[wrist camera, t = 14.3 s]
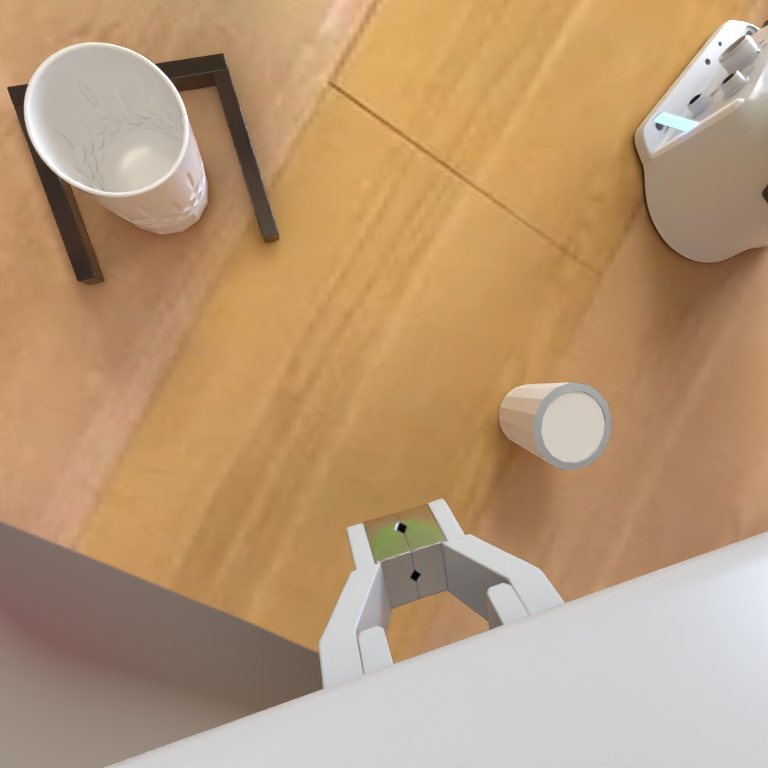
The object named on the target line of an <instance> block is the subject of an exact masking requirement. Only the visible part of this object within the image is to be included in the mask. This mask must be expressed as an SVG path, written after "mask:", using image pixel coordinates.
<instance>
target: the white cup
mask: <svg viewBox="0 0 768 768" xmlns="http://www.w3.org/2000/svg"><path fill="white" fill-rule="evenodd" d="M24 119H25V124H26V128H27V132H28V135H29V137H30V140H31V142H32V144H33V146H34V148H35V150H36V151H37V153H38V154H39V156H40V157H41V159H42V160H43V161H44V162H45V164H46V165H47V166H48V167H49V168H50V169H51V170H52V171H53V172H54V173H56V174H57V175H58V176H59V177H60V178H62V179H63V180H65V181H66V182H68V183H69V184H71V185H72V186H74V187H75V188H77V189H78V190H80V191H81V192H82V193H84V194H85V195H87V196H88V197H90V198H91V199H93V200H94V201H96V202H97V203H99V204H100V205H102V206H103V207H105V208H106V209H108V210H110V211H112V212H113V213H115V214H116V215H118V216H120V217H121V218H123V219H125V220H127V221H129V222H131V223H133V224H134V225H135V226H137V227H138V228H140V229H144V230H147V231H150V232H154V233H157V234H160V235H162V234H170V233H177V232H183V231H184V230H186V229H187V228H189V227H190V226H192V225H193V224H195V223H196V222H198V221H199V219H200V217H201V215H202V214H203V212H204V210H205V208H206V206H207V204H208V181H207V178H206V176H205V172H204V166H203V162H202V159H201V156H200V152H199V148H198V145H197V142H196V139H195V136H194V133H193V130H192V127H191V125H190V122H189V119H188V116H187V113H186V110H185V107H184V104H183V101H182V99H181V97H180V95H179V93H178V91H177V90H176V88H175V86H174V85H173V83H172V82H171V81H170V79H169V78H168V77H167V76H166V75H165V74H164V73H163V72H162V71H161V70H160V69H159V68H158V67H157V66H156V65H155V64H153V63H152V62H151V61H149V60H148V59H146V58H145V57H143V56H142V55H140V54H138V53H136V52H134V51H132V50H129V49H127V48H124V47H121V46H117V45H113V44H108V43H98V42H91V43H81V44H76V45H72V46H69V47H66V48H64V49H61V50H59V51H57V52H56V53H54V54H53V55H51V56H50V57H48V58H47V59H46V60H45V61H44V62H43V63H42V64H41V65H40V66H39V67H38V68H37V70H36V71H35V72H34V74H33V76H32V77H31V79H30V82H29V84H28V87H27V90H26V94H25V99H24Z"/></svg>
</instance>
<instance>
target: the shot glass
mask: <svg viewBox="0 0 768 768" xmlns="http://www.w3.org/2000/svg"><path fill="white" fill-rule="evenodd" d="M498 419H499V423H500V427H501V430H502V431H503V433H504V434H505V435H506V437H507V438H508V439H509V440H511V441H513V442H514V443H516V444H517V445H519V446H521V447H522V448H524V449H526V450H527V451H529V452H531V453H532V454H534V455H536V456H537V457H539V458H541V459H542V460H544V461H546V462H547V463H549V464H551V465H553V466H555V467H557V468H559V469H560V470H578V469H580V468H583V467H585V466H588V465H591V464H592V463H593V462H594V461H595V460H596V459H597V458H598V457H599V456H600V455H601V454H602V453H603V451H604V449H605V447H606V445H607V443H608V441H609V439H610V435H611V426H612V418H611V414H610V410H609V405H608V404H607V402H606V401H605V399H604V398H603V396H602V395H601V394H600V392H599V391H597V390H595V389H594V388H592V387H590V386H589V385H587V384H582V383H571V382H569V383H546V384H524V385H521V386H518V387H516V388H513V389H512V390H511V391H510V392H509V393H508V394H507V395H506V396H505V397H504V399H503V401H502V403H501V405H500V408H499V418H498Z"/></svg>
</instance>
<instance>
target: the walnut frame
mask: <svg viewBox="0 0 768 768" xmlns="http://www.w3.org/2000/svg"><path fill="white" fill-rule="evenodd" d="M155 65H156V66H157V67H158V68H159V69H160V70H161V71H162V72H163V73H164V74H165V75H166V76H167V77H168V78H169V79H170V81H171V82H172V83H173V85H174V86H175V88H176V90H177V91H184V90H190V89H196V88H202V87H207V86H213V85H216V88H217V91H218V94H219V97H220V100H221V104H222V107H223V110H224V113H225V117H226V120H227V123H228V126H229V129H230V133H231V136H232V139H233V142H234V146H235V149H236V152H237V155H238V159H239V162H240V165H241V168H242V171H243V175H244V178H245V181H246V184H247V188H248V191H249V194H250V197H251V201H252V204H253V207H254V210H255V213H256V217H257V220H258V223H259V226H260V230H261V233H262V236H263V239H264V242H270V241H274V240H278V239H279V232H278V229H277V226H276V223H275V219H274V216H273V213H272V209H271V206H270V203H269V200H268V196H267V193H266V190H265V186H264V183H263V180H262V177H261V173H260V170H259V167H258V164H257V160H256V157H255V154H254V150H253V147H252V144H251V141H250V137H249V134H248V131H247V127H246V124H245V121H244V118H243V114H242V111H241V108H240V105H239V101H238V98H237V95H236V91H235V88H234V85H233V82H232V78H231V75H230V72H229V69H228V65H227V62H226V59H225V55H224V54H223V53H222V54H215V55H209V56H203V57H196V58H190V59H183V60H177V61H171V62H164V63H158V64H155ZM27 87H28V84H25V85H18V86H12V87H7V89H8V91H9V94H10V97H11V100H12V102H13V105H14V108H15V111H16V113H17V116H18V119H19V122H20V124H21V127H22V130H23V133H24V135H25V138H26V141H27V143H28V146H29V149H30V152H31V154H32V157H33V160H34V163H35V165H36V168H37V171H38V174H39V176H40V179H41V182H42V185H43V187H44V190H45V193H46V195H47V198H48V201H49V204H50V206H51V209H52V212H53V215H54V217H55V220H56V223H57V226H58V228H59V231H60V234H61V237H62V239H63V242H64V245H65V247H66V250H67V253H68V256H69V258H70V261H71V264H72V267H73V269H74V272H75V275H76V278H77V280H78V281H79V282H82V283H84V284H87V285H89V284H93V283H97V282H102V281H104V279H103V276H102V273H101V270H100V267H99V265H98V262H97V259H96V256H95V253H94V251H93V248H92V245H91V242H90V239H89V237H88V234H87V231H86V228H85V225H84V223H83V220H82V217H81V214H80V212H79V209H78V206H77V203H76V200H75V198H74V195H73V192H72V189H71V186H70V184H69V183H68V182H66V181H65V180H63V179H62V178H60V177H59V176H58V175H57V174H56V173H54V172H53V171H52V170H51V169H50V168H49V167H48V166H47V165H46V164H45V162H44V161H43V160H42V159H41V157H40V156H39V154H38V153H37V151H36V150H35V148H34V146H33V144H32V142H31V140H30V137H29V135H28V132H27V128H26V124H25V119H24V99H25V94H26V90H27Z"/></svg>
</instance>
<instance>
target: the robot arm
mask: <svg viewBox="0 0 768 768" xmlns="http://www.w3.org/2000/svg"><path fill="white" fill-rule="evenodd" d="M655 126H656V127H655ZM656 128H657V129H656ZM634 140H635V145H636V148H637V151H638V154H639V157H640V159H641V162H642V164H643V167H644V175H645V193H646V201H647V205H648V209H649V213H650V215H651V218H652V221H653V223H654V225H655V227H656V229H657V230H658V232H659V234H660V235H661V237H662V238H663V239H664V240H665V242H666V243H667V244H668V245H669V246H670V247H671V248H672V249H674V250H675V251H676V252H677V253H679V254H680V255H682V256H684V257H686V258H688V259H691V260H694V261H697V262H704V263H712V262H719V261H722V260H725V259H728V258H730V257H732V256H734V255H736V254H738V253H741V252H743V251H745V250H747V249H750V248H761V247H766V246H768V20H767V21H766V22H765V23H764V25H763V27H762V29H759V28H758V27H755V26H753V25H751V24H748V23H745V22H741V21H728V22H726V23H725V24H723V25H721V26H720V27H718V28H717V29H716V30H715V32H714V33H713V34H712V35H711V36H710V38H709V39H708V40H707V41H706V43H705V44H704V45H703V47H702V48H701V49H700V50H699V52H698V53H697V54H696V55H695V57H694V58H693V59H692V60H691V62H690V63H689V64H688V65H687V67H686V68H685V69H684V70H683V72H682V73H681V74H680V75H679V77H678V78H677V79H676V80H675V82H674V83H673V84H672V85H671V87H670V88H669V89H668V91H667V92H666V93H665V94H664V96H663V97H662V98H661V99H660V101H659V102H658V103H657V104H656V106H655V107H654V108H653V109H652V111H651V112H650V113H649V114H648V116H647V117H646V118H645V119H644V121H643V122H642V123H641V124H640V126H639V127H638V128H637V130H636V132H635V137H634ZM346 532H347V536H348V540H349V545H350V549H351V553H352V557H353V562H354V566H355V571H352V572H350V575H349V577H348V579H347V581H346V584H345V586H344V588H343V590H342V592H341V595H340V597H339V599H338V601H337V604H336V606H335V608H334V610H333V612H332V615H331V617H330V619H329V621H328V624H327V626H326V628H325V630H324V632H323V635H322V637H321V639H320V641H319V644H318V646H319V655H320V664H321V673H322V682H323V689H322V690H319V691H316V692H314V693H311V694H308V695H305V696H302V697H300V698H297V699H294V700H291V701H288V702H286V703H283V704H280V705H277V706H274V707H272V708H269V709H266V710H263V711H260V712H257V713H255V714H252V715H249V716H246V717H243V718H241V719H238V720H235V721H232V722H229V723H227V724H224V725H221V726H218V727H215V728H213V729H210V730H207V731H204V732H201V733H199V734H196V735H193V736H190V737H187V738H185V739H182V740H179V741H176V742H173V743H171V744H168V745H165V746H162V747H159V748H157V749H154V750H151V751H148V752H145V753H142V754H140V755H137V756H134V757H131V758H128V759H126V760H123V761H120V762H117V763H114V764H112V765H109V766H106V767H103V768H768V531H766V532H763V533H760V534H757V535H755V536H752V537H749V538H746V539H743V540H741V541H738V542H735V543H732V544H729V545H727V546H724V547H721V548H718V549H715V550H713V551H710V552H707V553H704V554H701V555H699V556H696V557H693V558H690V559H687V560H684V561H682V562H679V563H676V564H673V565H670V566H668V567H665V568H662V569H659V570H656V571H654V572H651V573H648V574H645V575H642V576H640V577H637V578H634V579H631V580H628V581H626V582H623V583H620V584H617V585H614V586H611V587H609V588H606V589H603V590H600V591H597V592H595V593H592V594H589V595H586V596H583V597H581V598H578V599H575V600H572V601H569V602H566V603H565V602H564V601H563V600H562V598H561V597H560V595H559V594H558V593H557V591H556V590H555V589H554V587H553V586H552V584H551V583H550V582H549V580H548V579H547V577H546V576H545V575H544V573H543V572H542V570H541V569H539V568H537V567H535V566H533V565H531V564H529V563H527V562H525V561H523V560H521V559H519V558H517V557H515V556H513V555H511V554H509V553H507V552H505V551H503V550H501V549H499V548H497V547H495V546H493V545H491V544H489V543H487V542H485V541H483V540H481V539H479V538H477V537H475V536H473V535H471V534H468V535H465V534H464V533H463V531H462V529H461V528H460V526H459V524H458V522H457V521H456V519H455V517H454V515H453V514H452V512H451V510H450V509H449V507H448V505H447V503H446V502H445V500H444V499H439V500H436V501H432V502H429V503H427V504H424V505H420V506H417V507H414V508H411V509H408V510H404V511H401V512H398V513H395V514H392V515H388V516H384V517H381V518H377V519H373V520H370V521H366V522H363V523H361V524H357V525H353V526H349V527H346ZM446 590H448V591H449V592H450V593H451V594H453V595H454V596H455V597H457V598H458V599H459V600H461V601H462V602H463V603H465V604H466V605H467V606H469V607H470V608H471V609H473V610H474V611H475V612H477V613H478V614H479V615H481V616H482V617H483V618H485V619H486V620H487V621H489V630H488V631H485V632H482V633H479V634H477V635H474V636H471V637H468V638H465V639H462V640H460V641H457V642H454V643H451V644H448V645H446V646H443V647H440V648H437V649H434V650H432V651H429V652H426V653H423V654H420V655H418V656H415V657H412V658H409V659H406V660H403V661H401V662H398V663H395V664H393V661H392V657H391V654H390V650H389V647H388V643H387V639H386V636H385V635H386V631H387V628H388V624H389V620H390V616H391V612H392V610H391V609H393V608H396V607H398V606H401V605H404V604H407V603H409V602H412V601H415V600H417V599H420V598H424V597H427V596H430V595H433V594H437V593H440V592H443V591H446Z"/></svg>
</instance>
